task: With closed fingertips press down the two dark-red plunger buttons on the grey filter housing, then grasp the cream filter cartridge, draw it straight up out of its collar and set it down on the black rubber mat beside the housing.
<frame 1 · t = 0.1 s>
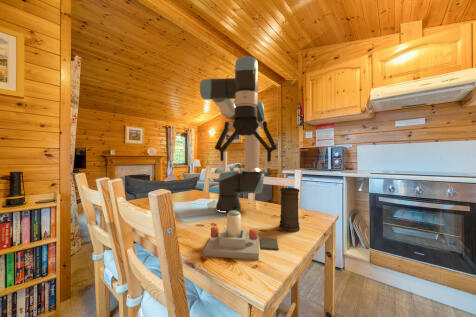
hand: (245, 171, 63), 28 cm above the table, fingers open, 13 cm apart
container: (289, 228, 87), on the table
plunger b: (253, 234, 67), point 5 cm above the table, slide at 0.0 cm
plunger a: (214, 232, 69), point 5 cm above the table, slide at 0.0 cm
housing: (233, 247, 68), on the table
mat: (269, 244, 71), on the table
cartridge: (233, 241, 68), point 2 cm above the table, touching housing
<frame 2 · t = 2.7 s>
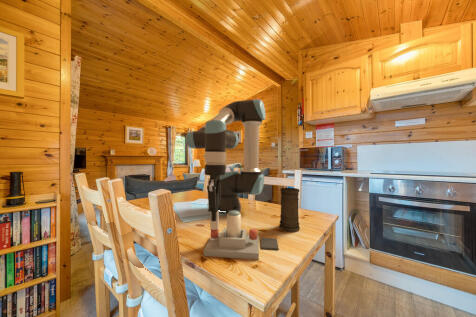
hand: (214, 228, 69), 6 cm above the table, fingers closed
plunger a: (214, 233, 69), point 5 cm above the table, slide at 0.4 cm, touching gripper
everything else where it was.
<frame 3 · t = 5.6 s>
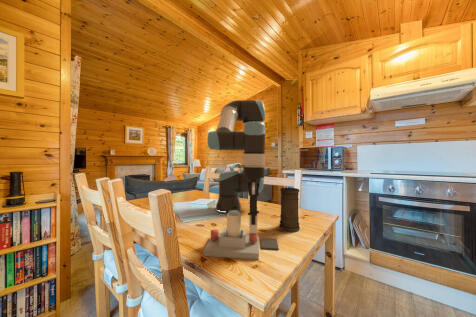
hand: (253, 232, 67), 6 cm above the table, fingers closed
plunger b: (253, 236, 67), point 4 cm above the table, slide at 0.9 cm, touching gripper
plunger a: (214, 234, 69), point 4 cm above the table, slide at 1.0 cm
everything else where it was.
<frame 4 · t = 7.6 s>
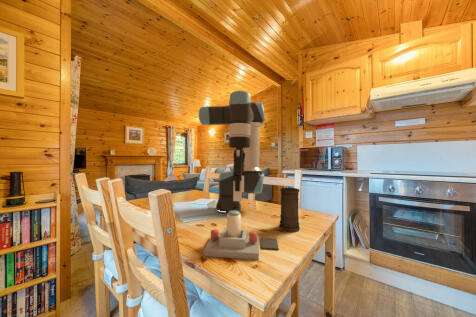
hand: (239, 196, 68), 19 cm above the table, fingers open, 13 cm apart
plunger b: (253, 236, 67), point 4 cm above the table, slide at 1.0 cm
everything else where it was.
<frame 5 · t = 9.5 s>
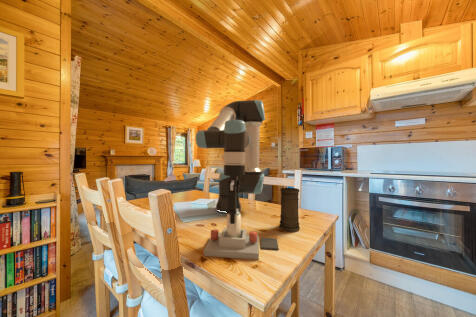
hand: (233, 228, 68), 7 cm above the table, fingers closed on cartridge, 5 cm apart
cartridge: (233, 241, 68), point 2 cm above the table, touching gripper, housing
everything else where it was.
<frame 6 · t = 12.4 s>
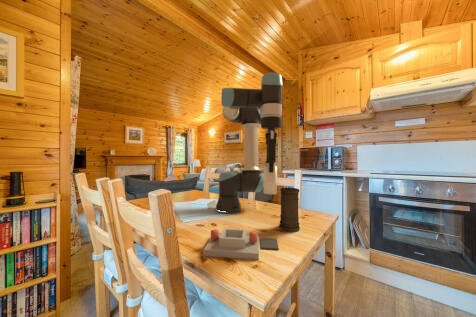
hand: (270, 180, 70), 24 cm above the table, fingers closed on cartridge, 5 cm apart
cartridge: (270, 193, 70), point 19 cm above the table, touching gripper
everything else where it was.
when the fingers open (7 cm above the table, at t = 15.7 s): cartridge drops 2 cm, resting on mat.
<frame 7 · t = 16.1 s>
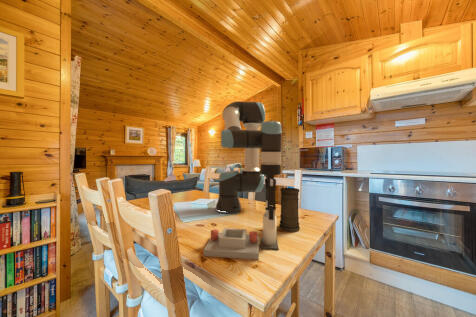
hand: (269, 222, 71), 8 cm above the table, fingers open, 11 cm apart
cartridge: (269, 242, 71), point 1 cm above the table, touching mat
everything else where it was.
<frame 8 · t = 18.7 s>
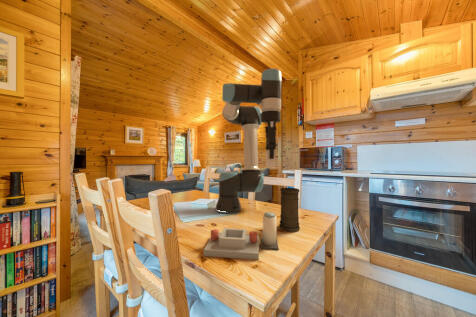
hand: (270, 167, 73), 29 cm above the table, fingers open, 13 cm apart
nothing on the table moved.
at the end: cartridge inside the target area on the mat (0.0 cm from its centre), point 0.6 cm above the mat's base; plunger a slide at 1.0 cm; plunger b slide at 1.0 cm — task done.
